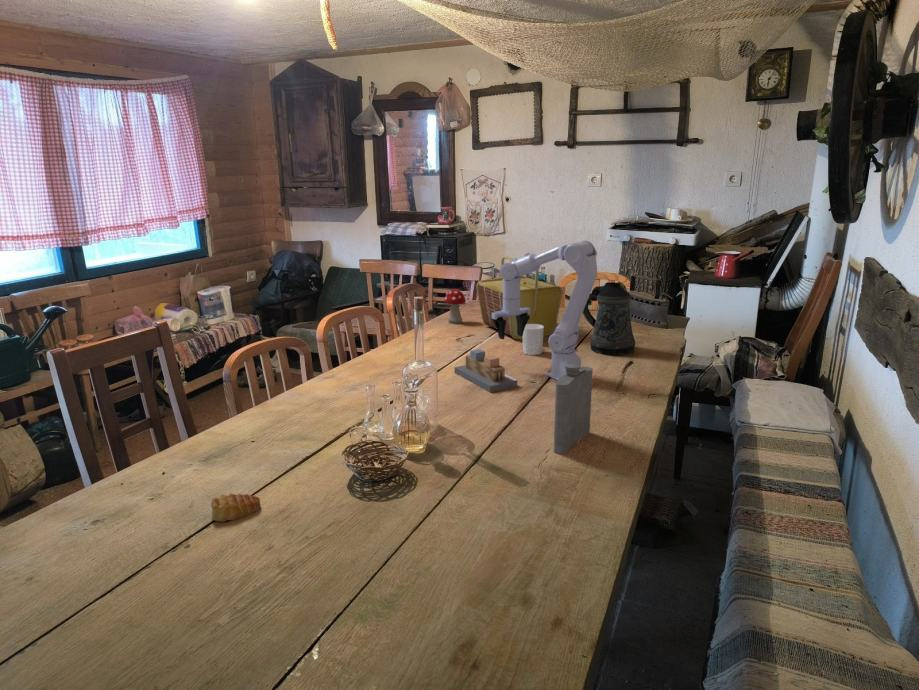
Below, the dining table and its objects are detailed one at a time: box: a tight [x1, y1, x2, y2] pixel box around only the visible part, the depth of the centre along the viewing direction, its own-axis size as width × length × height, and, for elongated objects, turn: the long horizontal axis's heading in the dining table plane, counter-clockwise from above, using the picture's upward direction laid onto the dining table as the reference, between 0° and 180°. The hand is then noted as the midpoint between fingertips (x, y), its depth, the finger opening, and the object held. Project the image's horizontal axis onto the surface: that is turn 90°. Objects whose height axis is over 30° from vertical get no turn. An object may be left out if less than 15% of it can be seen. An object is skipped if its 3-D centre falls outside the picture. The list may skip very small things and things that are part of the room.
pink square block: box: [484, 354, 500, 367], centre depth 193 cm, size 4×4×2 cm
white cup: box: [522, 324, 544, 356], centre depth 225 cm, size 8×8×10 cm
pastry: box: [210, 492, 261, 523], centre depth 123 cm, size 9×7×4 cm
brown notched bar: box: [465, 355, 506, 382], centre depth 198 cm, size 17×4×4 cm, turn 30°
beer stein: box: [582, 281, 636, 357], centre depth 226 cm, size 16×19×25 cm
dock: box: [454, 364, 518, 393], centre depth 198 cm, size 22×10×2 cm, turn 30°
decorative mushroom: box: [443, 288, 467, 325], centre depth 271 cm, size 10×9×15 cm
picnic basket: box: [475, 256, 564, 340], centre depth 254 cm, size 29×26×30 cm
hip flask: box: [553, 363, 594, 455], centre depth 150 cm, size 16×4×20 cm, turn 144°
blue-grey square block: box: [469, 348, 486, 361], centre depth 200 cm, size 4×4×2 cm
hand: (510, 337), depth 209 cm, fingers open, 7 cm apart
